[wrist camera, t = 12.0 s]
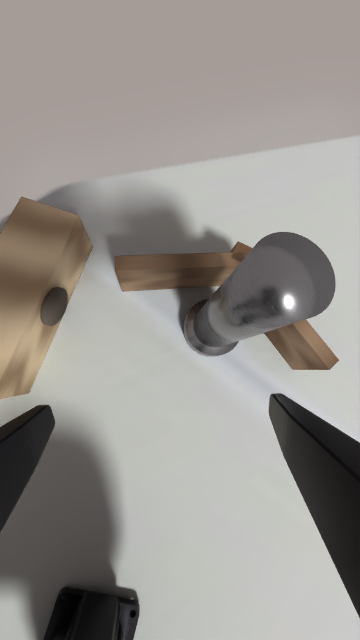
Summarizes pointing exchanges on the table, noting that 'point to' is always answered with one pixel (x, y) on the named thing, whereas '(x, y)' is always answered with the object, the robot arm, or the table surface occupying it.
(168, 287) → the v block
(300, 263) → the grey metal rounded post
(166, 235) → the table surface
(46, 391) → the table surface
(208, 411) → the table surface
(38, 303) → the beam
